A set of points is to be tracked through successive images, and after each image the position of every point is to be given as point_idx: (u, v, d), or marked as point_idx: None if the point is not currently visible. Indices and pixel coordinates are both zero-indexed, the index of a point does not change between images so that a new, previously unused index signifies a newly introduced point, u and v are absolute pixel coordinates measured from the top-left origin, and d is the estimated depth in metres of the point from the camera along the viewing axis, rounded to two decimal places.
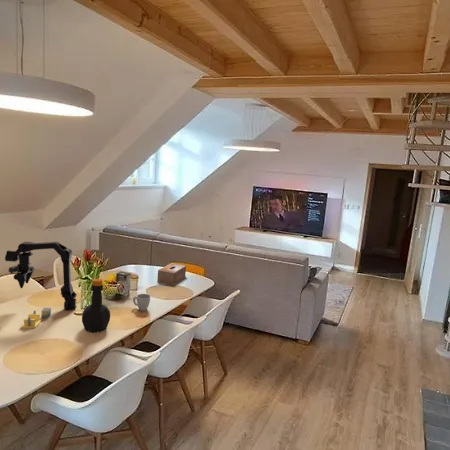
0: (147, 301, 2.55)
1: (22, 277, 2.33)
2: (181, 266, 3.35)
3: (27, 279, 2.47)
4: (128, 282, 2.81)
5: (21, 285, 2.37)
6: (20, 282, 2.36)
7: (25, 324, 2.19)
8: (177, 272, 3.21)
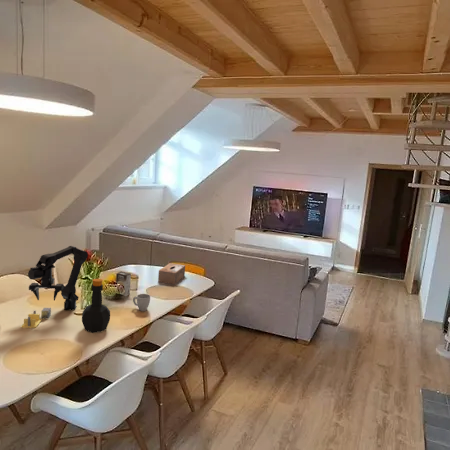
0: (147, 301, 2.55)
1: None
2: (180, 266, 3.35)
3: None
4: (128, 282, 2.81)
5: None
6: None
7: (25, 324, 2.19)
8: (178, 272, 3.22)
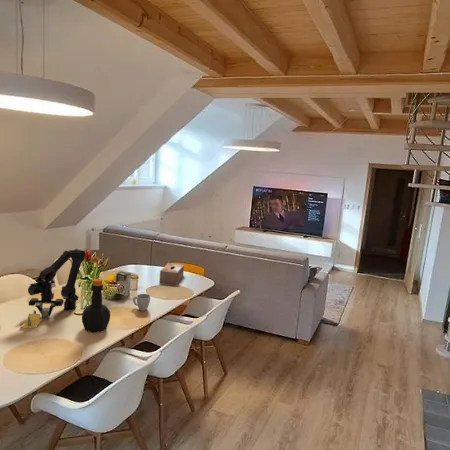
0: (147, 301, 2.55)
1: None
2: (180, 265, 3.36)
3: None
4: (128, 282, 2.81)
5: None
6: None
7: (25, 324, 2.19)
8: (179, 272, 3.23)
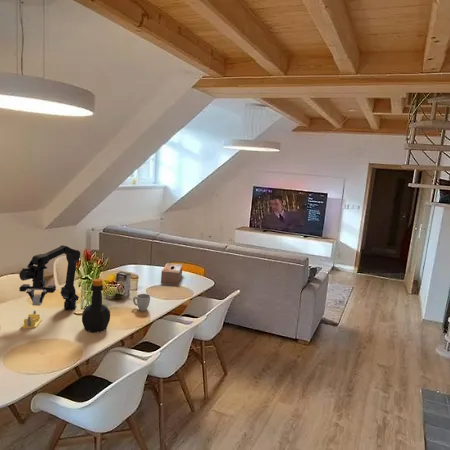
0: (147, 301, 2.55)
1: None
2: (179, 265, 3.37)
3: None
4: (128, 282, 2.81)
5: None
6: None
7: (25, 324, 2.19)
8: None
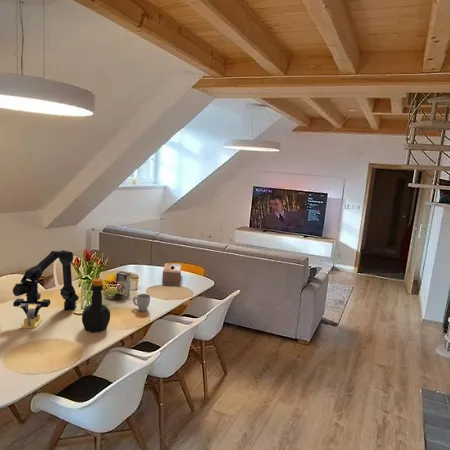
0: (147, 301, 2.55)
1: None
2: (178, 265, 3.37)
3: None
4: (128, 282, 2.81)
5: None
6: None
7: (25, 324, 2.19)
8: (180, 271, 3.24)
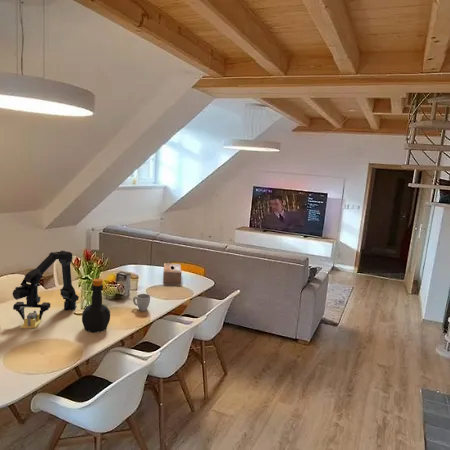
0: (147, 301, 2.55)
1: None
2: (177, 265, 3.37)
3: None
4: (128, 282, 2.81)
5: None
6: None
7: (25, 324, 2.19)
8: None
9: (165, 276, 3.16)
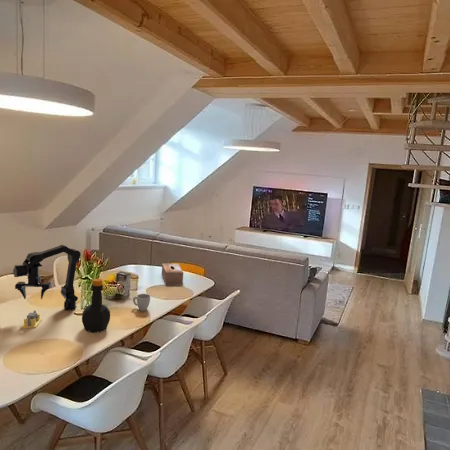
0: (147, 301, 2.55)
1: (15, 286, 2.25)
2: (176, 265, 3.38)
3: (41, 295, 2.31)
4: (128, 282, 2.81)
5: None
6: None
7: (25, 324, 2.19)
8: None
9: (167, 276, 3.15)
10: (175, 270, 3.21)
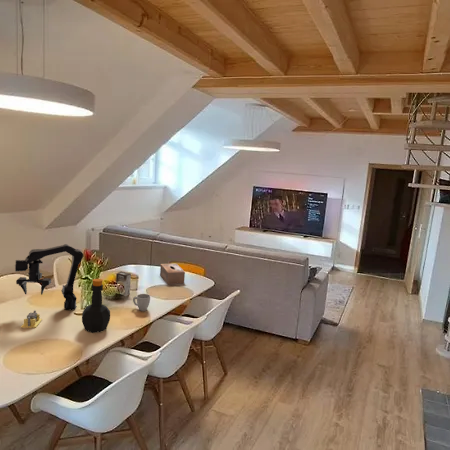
0: (147, 301, 2.55)
1: None
2: (175, 265, 3.38)
3: None
4: (128, 282, 2.81)
5: None
6: None
7: (25, 324, 2.19)
8: None
9: (169, 277, 3.15)
10: (176, 270, 3.22)
